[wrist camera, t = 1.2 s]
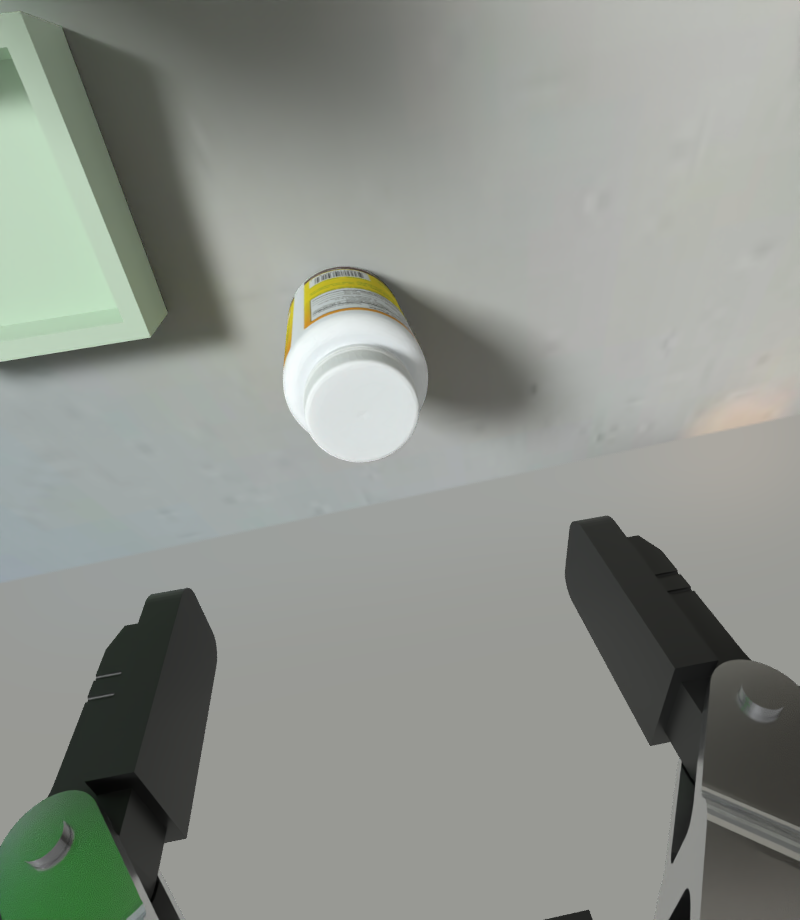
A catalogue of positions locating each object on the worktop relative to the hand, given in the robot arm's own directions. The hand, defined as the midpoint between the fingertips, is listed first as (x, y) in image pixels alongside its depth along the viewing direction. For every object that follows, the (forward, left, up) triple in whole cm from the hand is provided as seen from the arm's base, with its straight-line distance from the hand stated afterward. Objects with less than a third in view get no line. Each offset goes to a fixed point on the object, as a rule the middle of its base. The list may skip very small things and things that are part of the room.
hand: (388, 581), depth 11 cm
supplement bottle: (0, 0, -18) cm, 18 cm away
